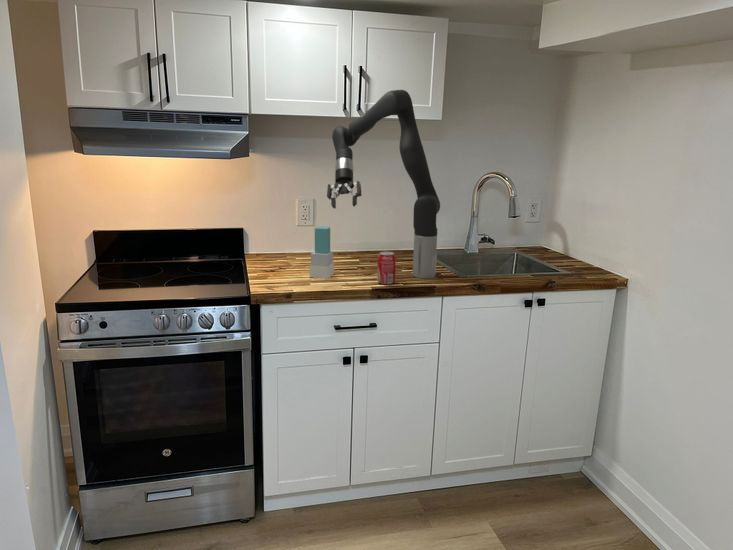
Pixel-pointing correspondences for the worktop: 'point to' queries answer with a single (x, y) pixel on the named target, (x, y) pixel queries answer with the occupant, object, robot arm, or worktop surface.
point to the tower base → (321, 271)
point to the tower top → (322, 259)
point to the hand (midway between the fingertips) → (344, 206)
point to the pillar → (322, 240)
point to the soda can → (386, 267)
